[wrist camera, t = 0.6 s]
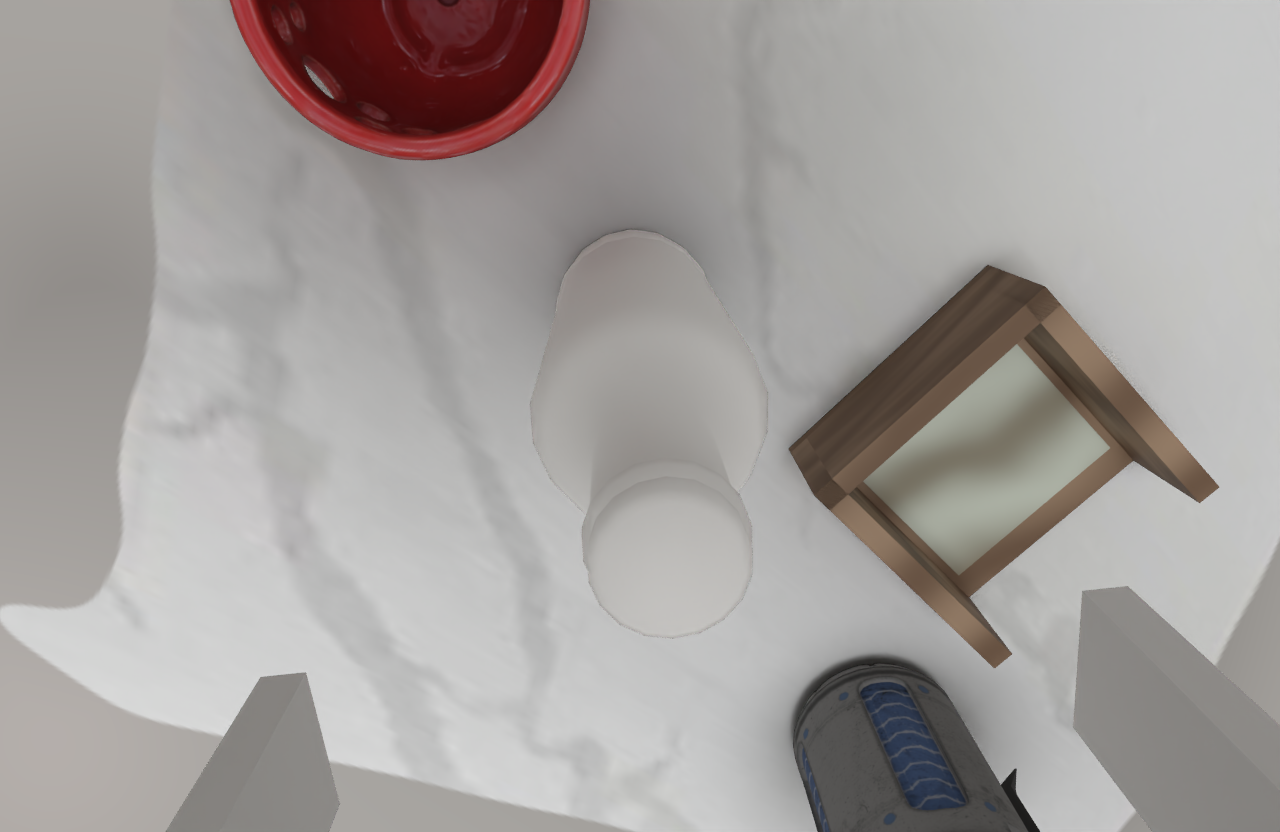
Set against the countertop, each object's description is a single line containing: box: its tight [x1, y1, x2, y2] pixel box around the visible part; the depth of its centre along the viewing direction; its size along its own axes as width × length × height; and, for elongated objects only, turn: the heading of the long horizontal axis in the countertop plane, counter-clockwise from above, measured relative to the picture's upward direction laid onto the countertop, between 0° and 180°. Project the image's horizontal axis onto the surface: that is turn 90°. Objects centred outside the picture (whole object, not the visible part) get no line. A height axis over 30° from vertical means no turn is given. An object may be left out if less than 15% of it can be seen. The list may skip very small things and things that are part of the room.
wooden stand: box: [789, 265, 1219, 668], centre depth 48 cm, size 14×14×7 cm
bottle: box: [530, 229, 768, 639], centre depth 33 cm, size 8×8×30 cm
